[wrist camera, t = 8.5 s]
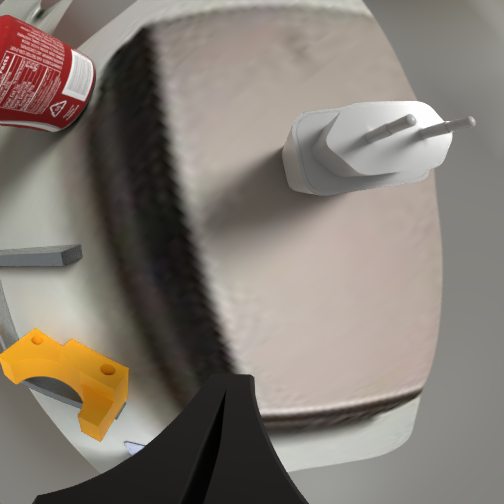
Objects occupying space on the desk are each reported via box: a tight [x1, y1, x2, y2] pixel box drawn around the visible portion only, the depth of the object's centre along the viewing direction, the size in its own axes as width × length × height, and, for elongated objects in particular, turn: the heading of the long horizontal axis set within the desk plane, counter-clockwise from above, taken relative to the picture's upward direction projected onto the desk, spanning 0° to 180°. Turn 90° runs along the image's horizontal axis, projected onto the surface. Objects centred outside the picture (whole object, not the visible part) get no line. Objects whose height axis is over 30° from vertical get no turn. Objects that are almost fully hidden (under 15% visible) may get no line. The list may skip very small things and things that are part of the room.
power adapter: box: [282, 101, 475, 196], centre depth 10 cm, size 3×5×12 cm, turn 102°
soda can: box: [0, 15, 96, 132], centre depth 9 cm, size 7×7×12 cm
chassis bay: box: [0, 245, 126, 420], centre depth 19 cm, size 16×16×2 cm
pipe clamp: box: [0, 328, 129, 442], centre depth 18 cm, size 12×4×6 cm, turn 72°
